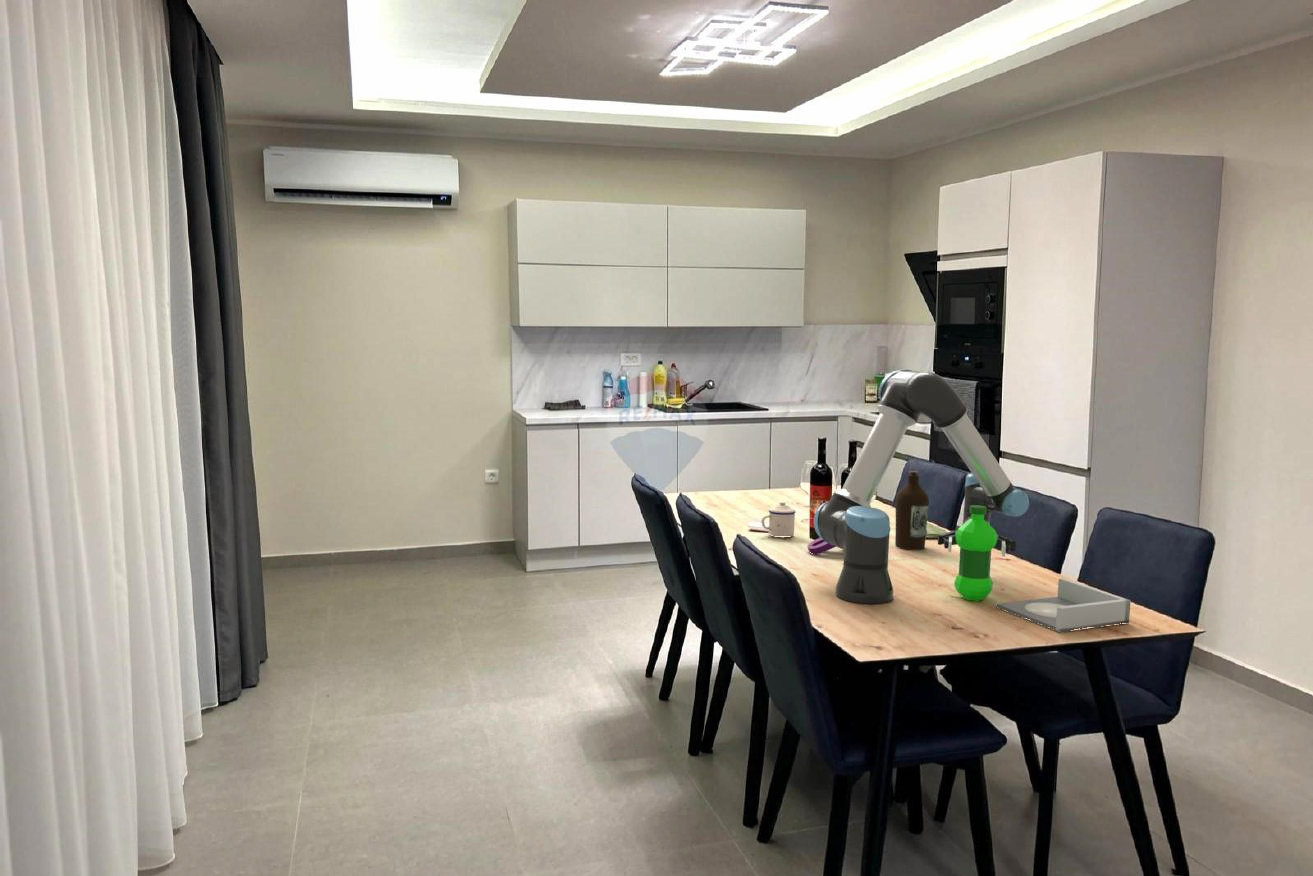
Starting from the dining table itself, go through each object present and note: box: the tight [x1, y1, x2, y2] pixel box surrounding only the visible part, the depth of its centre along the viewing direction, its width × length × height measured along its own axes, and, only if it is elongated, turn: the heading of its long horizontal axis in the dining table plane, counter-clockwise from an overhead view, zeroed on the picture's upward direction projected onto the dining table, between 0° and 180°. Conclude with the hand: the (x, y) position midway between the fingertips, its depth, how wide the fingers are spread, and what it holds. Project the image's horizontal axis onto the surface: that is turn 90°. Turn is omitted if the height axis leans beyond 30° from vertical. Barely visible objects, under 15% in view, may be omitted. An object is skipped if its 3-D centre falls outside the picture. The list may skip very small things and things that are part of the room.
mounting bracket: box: [806, 537, 837, 555], centre depth 310 cm, size 9×8×18 cm
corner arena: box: [995, 577, 1132, 633], centre depth 247 cm, size 22×22×6 cm
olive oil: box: [894, 470, 930, 550], centre depth 319 cm, size 11×11×25 cm
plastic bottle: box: [953, 505, 998, 602], centre depth 260 cm, size 10×10×25 cm
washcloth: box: [926, 522, 948, 539], centre depth 341 cm, size 13×18×3 cm
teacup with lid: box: [760, 501, 796, 537], centre depth 333 cm, size 12×9×12 cm
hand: (976, 549), depth 258 cm, fingers open, 13 cm apart
